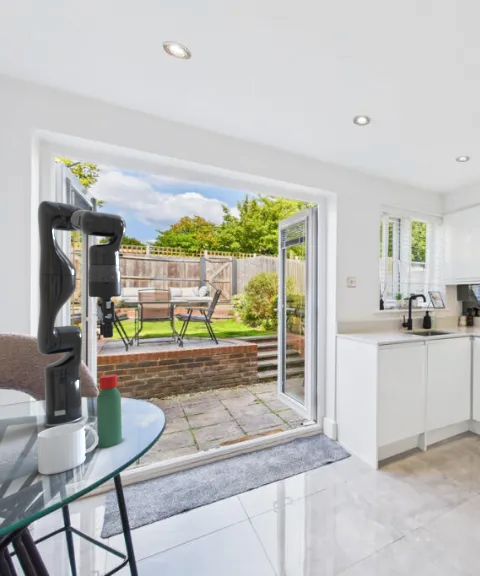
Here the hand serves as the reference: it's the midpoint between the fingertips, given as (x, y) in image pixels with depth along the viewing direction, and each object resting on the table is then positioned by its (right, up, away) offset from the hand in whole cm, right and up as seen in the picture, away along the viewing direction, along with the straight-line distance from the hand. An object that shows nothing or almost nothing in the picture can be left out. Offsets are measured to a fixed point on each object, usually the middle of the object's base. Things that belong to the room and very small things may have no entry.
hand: (106, 336), depth 103 cm
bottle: (+1, -32, 0) cm, 32 cm away
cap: (0, -15, 0) cm, 15 cm away
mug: (-1, -32, -11) cm, 34 cm away
